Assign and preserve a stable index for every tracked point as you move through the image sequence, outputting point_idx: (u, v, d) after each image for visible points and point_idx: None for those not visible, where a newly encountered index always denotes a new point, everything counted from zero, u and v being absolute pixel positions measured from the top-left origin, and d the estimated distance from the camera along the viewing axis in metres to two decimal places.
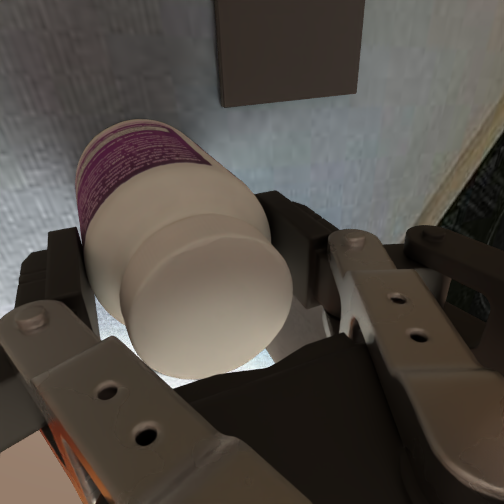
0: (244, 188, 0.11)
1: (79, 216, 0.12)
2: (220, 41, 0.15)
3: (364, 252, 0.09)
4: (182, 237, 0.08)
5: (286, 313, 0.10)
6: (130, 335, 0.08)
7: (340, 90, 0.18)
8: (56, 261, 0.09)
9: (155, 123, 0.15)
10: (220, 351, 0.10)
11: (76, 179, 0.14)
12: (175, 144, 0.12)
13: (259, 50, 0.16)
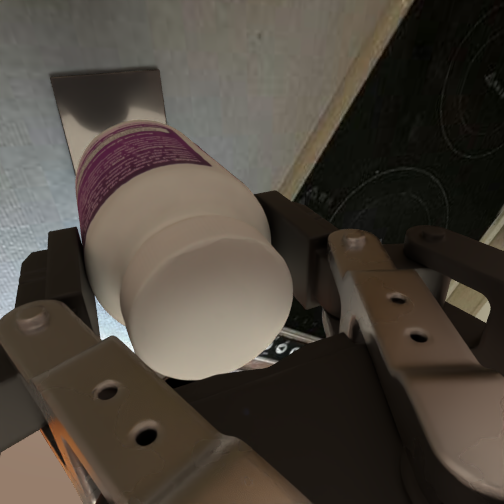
0: (244, 189, 0.11)
1: (79, 217, 0.12)
2: (68, 146, 0.26)
3: (364, 252, 0.09)
4: (182, 238, 0.08)
5: (286, 314, 0.10)
6: (130, 336, 0.08)
7: None
8: (56, 261, 0.09)
9: (155, 124, 0.15)
10: (220, 352, 0.10)
11: (76, 180, 0.14)
12: (175, 145, 0.12)
13: None
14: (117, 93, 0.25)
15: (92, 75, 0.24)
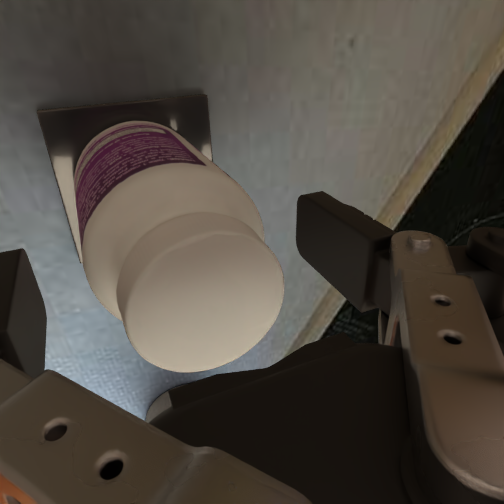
0: (238, 188, 0.11)
1: (78, 215, 0.13)
2: (66, 214, 0.16)
3: (433, 254, 0.09)
4: (176, 234, 0.09)
5: (278, 308, 0.10)
6: (126, 329, 0.09)
7: None
8: None
9: (152, 125, 0.15)
10: (214, 345, 0.10)
11: (75, 179, 0.15)
12: (171, 145, 0.12)
13: None
14: None
15: (104, 106, 0.15)
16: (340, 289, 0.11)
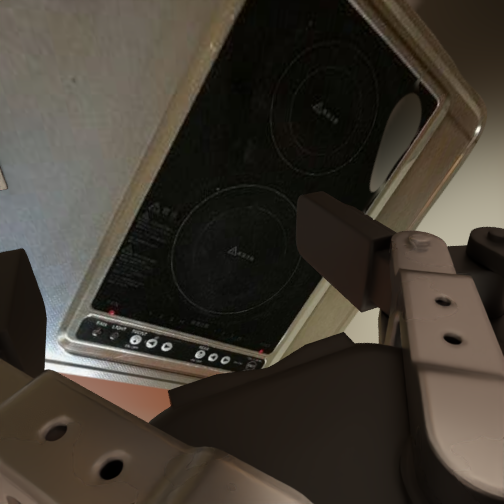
0: None
1: None
2: None
3: (433, 254, 0.09)
4: None
5: None
6: None
7: None
8: None
9: None
10: None
11: None
12: None
13: None
14: None
15: None
16: (340, 289, 0.11)
